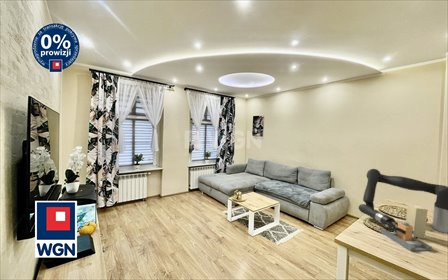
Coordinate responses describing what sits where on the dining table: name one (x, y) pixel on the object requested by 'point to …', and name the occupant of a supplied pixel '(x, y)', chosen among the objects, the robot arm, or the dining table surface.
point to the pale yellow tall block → (417, 219)
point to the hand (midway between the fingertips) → (409, 232)
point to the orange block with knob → (408, 230)
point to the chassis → (407, 242)
